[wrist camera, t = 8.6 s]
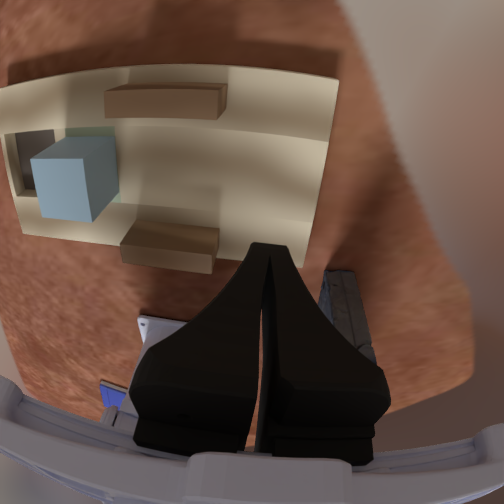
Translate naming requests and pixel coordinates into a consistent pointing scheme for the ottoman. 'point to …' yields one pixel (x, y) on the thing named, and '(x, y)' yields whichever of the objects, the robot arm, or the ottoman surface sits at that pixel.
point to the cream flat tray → (181, 157)
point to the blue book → (112, 394)
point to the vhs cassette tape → (346, 309)
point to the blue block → (76, 177)
